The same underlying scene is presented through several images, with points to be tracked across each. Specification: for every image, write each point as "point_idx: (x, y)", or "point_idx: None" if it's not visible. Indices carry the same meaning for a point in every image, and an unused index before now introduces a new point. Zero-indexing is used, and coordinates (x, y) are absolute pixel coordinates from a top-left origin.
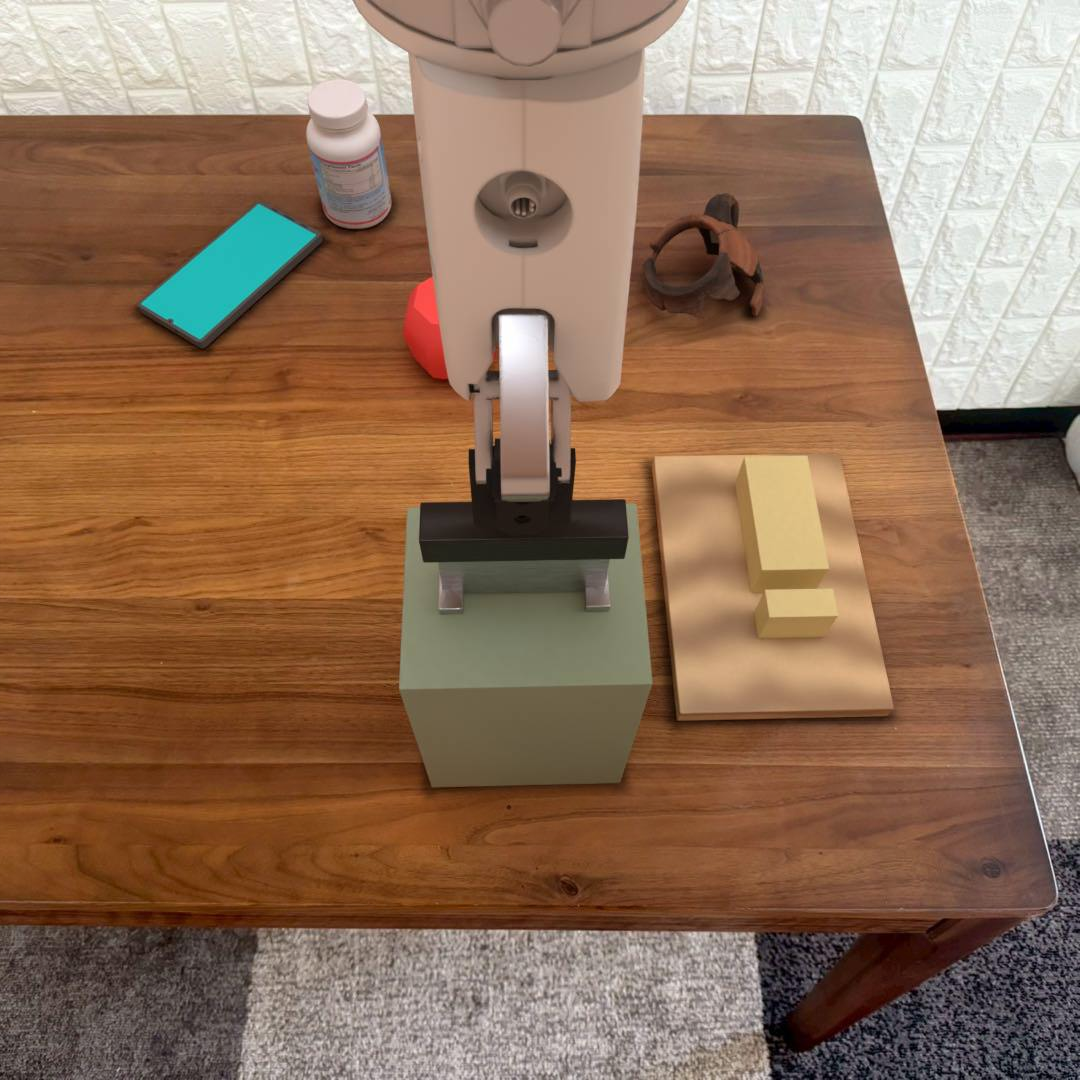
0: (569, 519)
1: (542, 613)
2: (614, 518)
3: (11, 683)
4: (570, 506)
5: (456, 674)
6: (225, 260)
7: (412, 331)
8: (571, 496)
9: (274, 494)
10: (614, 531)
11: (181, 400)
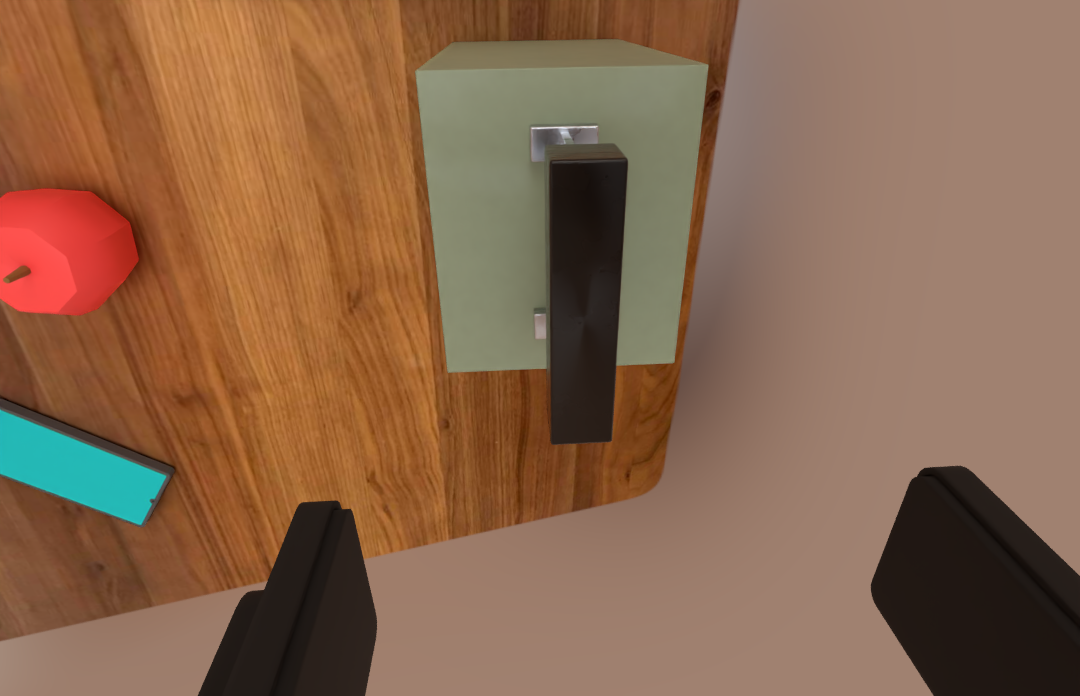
0: (979, 480)
1: None
2: (590, 182)
3: (515, 523)
4: (1018, 520)
5: (664, 309)
6: (53, 472)
7: (92, 304)
8: (1059, 558)
9: (325, 388)
10: (615, 183)
11: (239, 473)
